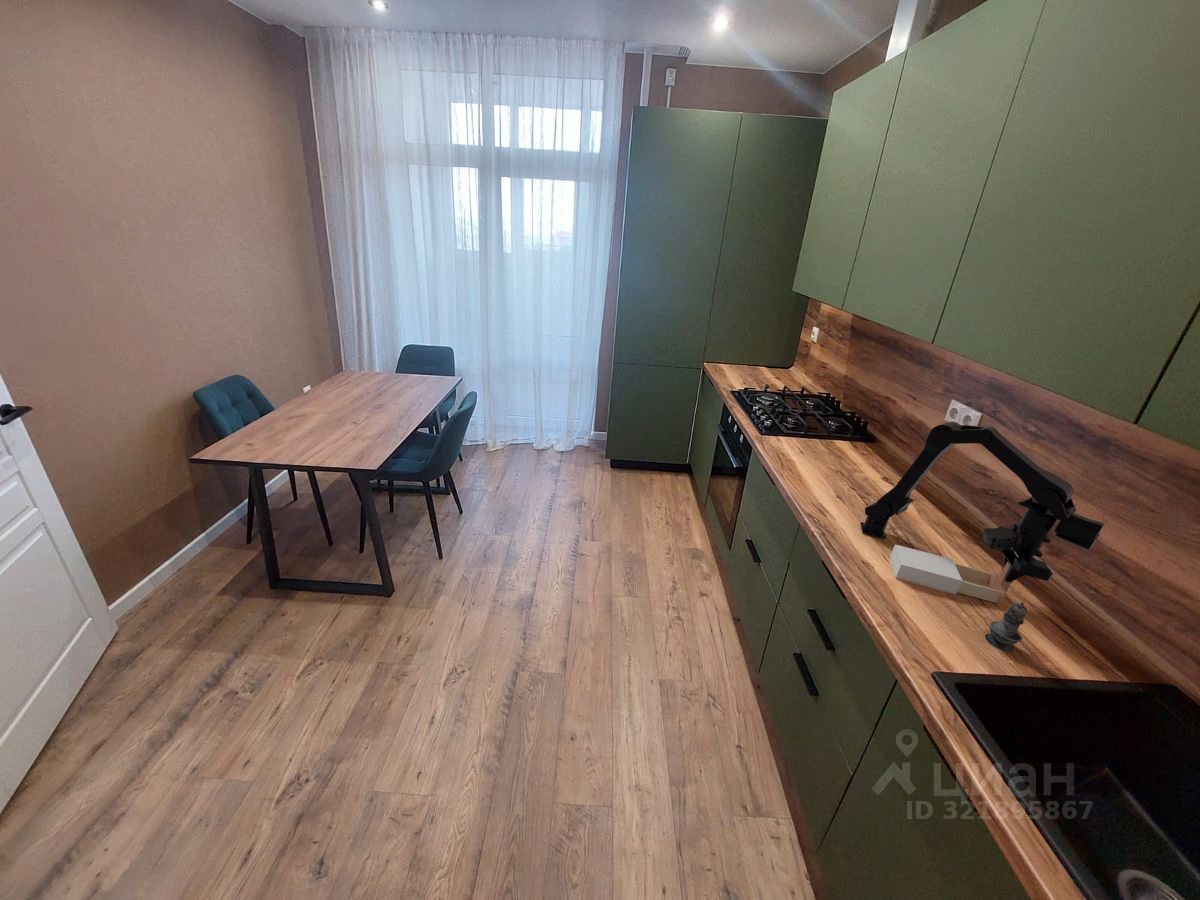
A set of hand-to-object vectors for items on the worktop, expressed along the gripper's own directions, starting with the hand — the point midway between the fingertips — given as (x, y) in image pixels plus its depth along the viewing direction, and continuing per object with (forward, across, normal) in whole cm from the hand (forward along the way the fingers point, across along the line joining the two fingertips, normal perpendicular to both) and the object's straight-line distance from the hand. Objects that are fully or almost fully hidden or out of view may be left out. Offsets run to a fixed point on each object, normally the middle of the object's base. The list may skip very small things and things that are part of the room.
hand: (1005, 578), depth 122 cm
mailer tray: (+5, 0, -7) cm, 9 cm away
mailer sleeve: (+6, 0, -17) cm, 18 cm away
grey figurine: (+6, +20, -5) cm, 21 cm away
